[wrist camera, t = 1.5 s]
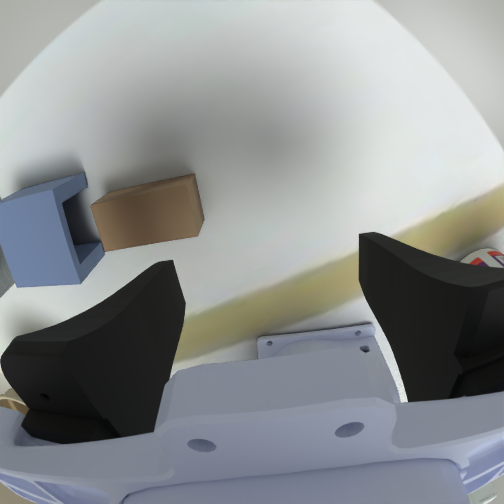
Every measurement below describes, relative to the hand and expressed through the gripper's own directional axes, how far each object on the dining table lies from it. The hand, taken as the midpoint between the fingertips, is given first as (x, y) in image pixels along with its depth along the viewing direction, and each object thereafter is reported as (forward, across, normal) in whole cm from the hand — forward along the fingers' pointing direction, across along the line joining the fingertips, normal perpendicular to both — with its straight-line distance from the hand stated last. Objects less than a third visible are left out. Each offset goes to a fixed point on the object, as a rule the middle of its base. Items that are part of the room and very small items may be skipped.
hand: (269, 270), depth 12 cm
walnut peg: (+9, +7, -1) cm, 11 cm away
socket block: (+8, +14, -1) cm, 17 cm away
